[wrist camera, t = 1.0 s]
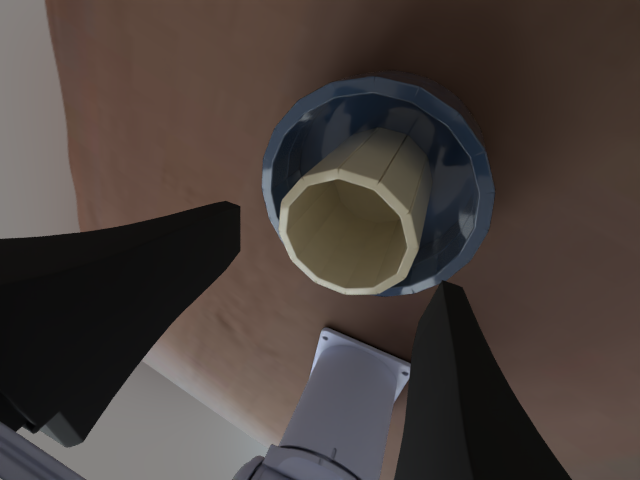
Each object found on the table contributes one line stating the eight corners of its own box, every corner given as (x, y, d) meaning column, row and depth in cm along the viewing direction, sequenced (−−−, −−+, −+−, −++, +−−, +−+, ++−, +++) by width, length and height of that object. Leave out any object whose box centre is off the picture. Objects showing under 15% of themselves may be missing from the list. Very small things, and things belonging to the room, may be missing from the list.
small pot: (410, 236, 18) (390, 313, 13) (324, 207, 19) (274, 266, 14) (448, 145, 15) (441, 199, 10) (342, 116, 16) (285, 151, 11)
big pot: (437, 279, 19) (432, 324, 16) (287, 224, 22) (258, 254, 19) (534, 100, 13) (557, 118, 10) (306, 49, 15) (266, 50, 12)
